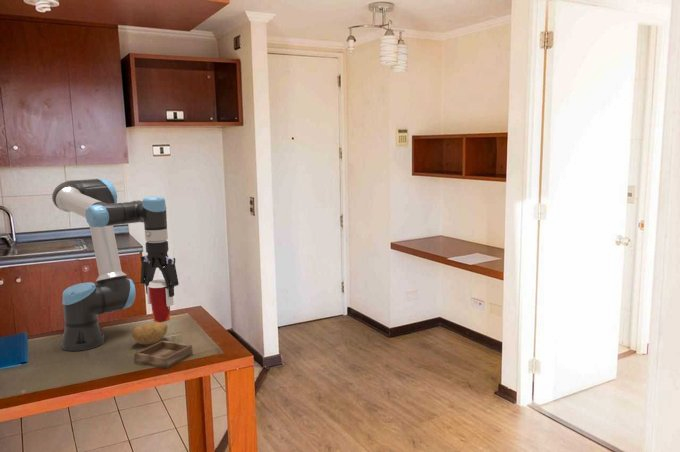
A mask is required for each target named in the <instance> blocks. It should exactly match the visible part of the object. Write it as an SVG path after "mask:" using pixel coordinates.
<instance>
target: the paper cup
mask: <svg viewBox="0 0 680 452" xmlns="http://www.w3.org/2000/svg"><path fill="white" fill-rule="evenodd" d="M148 287H149V290H150V298H151V304H150V305H151V306H150V307H151V312H152V319H153V323H156V322H163V323H165V322H168V321H170V320H171V306H169V307H167V304H166V287H167V285H166V282H165V280H164V278H163V279H153V281H150V282H149V285H148Z"/></svg>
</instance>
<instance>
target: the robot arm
mask: <svg viewBox="0 0 680 452" xmlns="http://www.w3.org/2000/svg"><path fill="white" fill-rule="evenodd" d="M117 193H118V192H117V190H116V187H115V185H114V184H113V183H112V182H111V181H110V180H108V179H106V178H91V179H77V180H75V179H73V180H66V181H63V182H62V183H59V184H58V185H57V186H56V187H55V188H54V190H53V192H52V194H51V199H52V200H51V201H52V202H53V204H54V206H56V208H57V209H59V210H60V211H63V212H67V213H70V212H72V213H74V214H76V215H79V216H81V217H82V218H85V220H86V222H87V224H88V226H89V230H90V234H91V235H90V236H91V240H92V245H93V251H94V255H95V260H96V266H97V273H98V277H97V278H96V280H95V283H96V284H95V283H94V282H90V281H89V282H81V283H76V284H73V285H71V286H69V287H67V288H66V289H64V291H63V292H62V301H61V304H62V306H63V307H62V310H63V317H64V332H63V334H62V339H61V349H62V350H64V351H68V352H79V351H80V352H81V351H86V350H91V349H94V348H97V347H99V346H101V345H103V344H104V343H105V335H104V333H103V330H102V329H101V326H100V325H99V318H98V316H99V315H103V314H107V313H113V312H117V311H123V310H124V309H127V308H131V307H132V305H133V304H134V302H135V300H136V293H137V292H136V286H135V283H134V281H133V279H131V278H128V277H127V275H128V274H127V273H125V272H123V271H122V265H121V260H120V255H119V249H118V245H117V240H116V235H115V229H114V226H119V225H127V224H137V223H143V225H144V238H145V241H146V242H145V252H146V253H147V255H144V256H140V261H141V268H140V269H141V270H140V284H144V286H145V293H146V295H147V304H148V305H151V298H150V290H149V287H148V285H149V282H150V281H153V280H154V278H155V273H156V270H157V269H159V271H160V272H161V274H162V277H163V279H164V280H165V282H166V285H167V287H166V304H167V307H169V306H170V307H171V306H174V305H175V303H174V302H175V301H174V296H175V287H177V286H179V284H180V283H179V278H178V274H177V268H176V258H175V257H169V254H168V252H169V241H168V239H169V236H168V222H167V205H166V199H165V197H164V196H146V197H143V199H142V200H139V199H138V200H131V201H127V202H118V195H117Z"/></svg>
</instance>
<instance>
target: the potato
mask: <svg viewBox="0 0 680 452" xmlns="http://www.w3.org/2000/svg"><path fill="white" fill-rule="evenodd" d="M168 328H169V327H168V325H167V323H165V322H151V323H146V324H142V325H138V326H136V327H134V328H133V330H132V334H131V335H132V338H133V340H134V341H135V343H138V344H139V345H143V346H144V345H145V346H152V345H154V344H156V343H158V342H160V341H162V339H163V338H164V337H165V335H166V334H167V332H168Z"/></svg>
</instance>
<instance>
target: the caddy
mask: <svg viewBox="0 0 680 452" xmlns="http://www.w3.org/2000/svg"><path fill="white" fill-rule="evenodd" d="M192 355H193V345H190V344H185V343H179V342H173V341H167V340H159V341H158V342H156V343H155V344H151V345H148V346H147V347H144V348H143V349H141V350H139V351H136V352H134V363H135V364H140V365H143V366H149V367H155V368H159V369H165V370H166V369H168V368H171V367H172V366H174V365H176V364H178V363H179V362H181V361H184V360H186V359H188V358H189V357H191V356H192Z"/></svg>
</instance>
